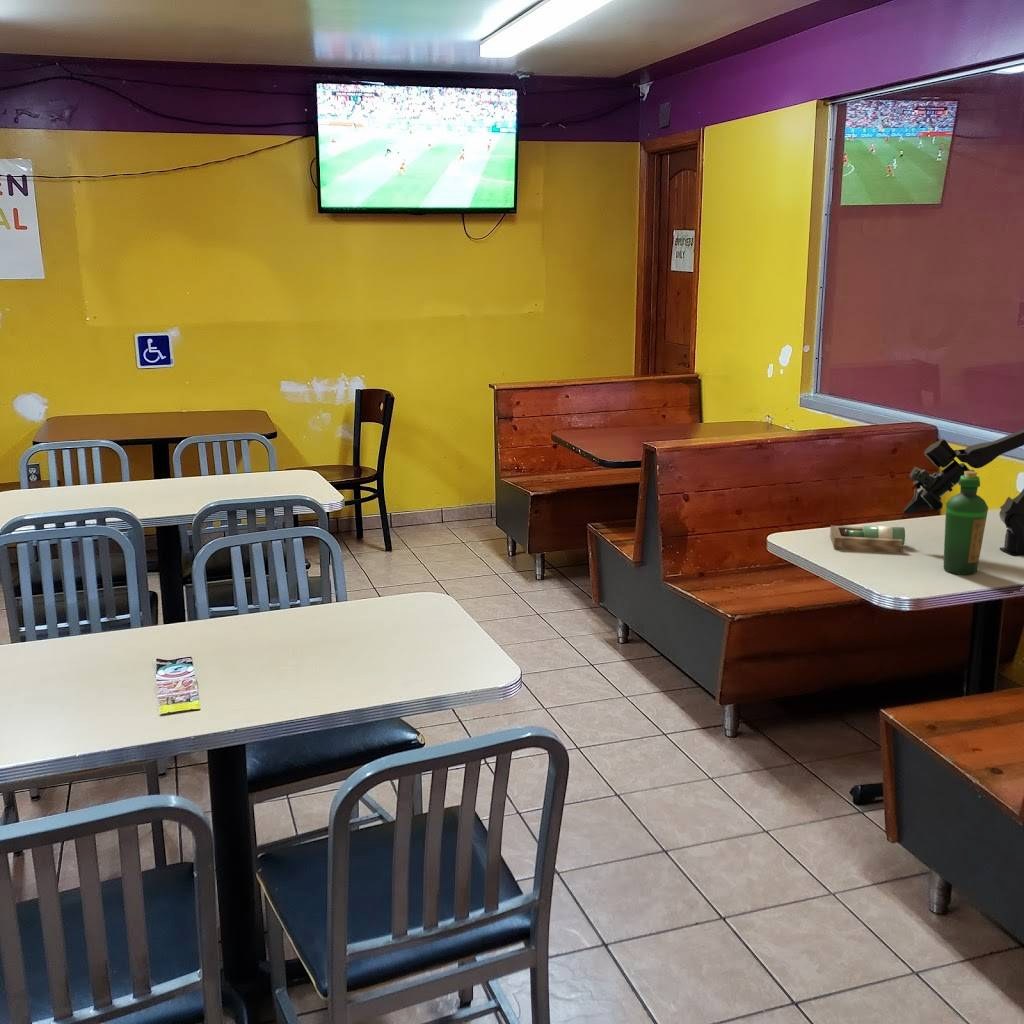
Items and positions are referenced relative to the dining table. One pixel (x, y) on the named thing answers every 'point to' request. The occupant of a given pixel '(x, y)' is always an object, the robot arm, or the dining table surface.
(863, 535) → the bottle
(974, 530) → the bottle
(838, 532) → the cradle
